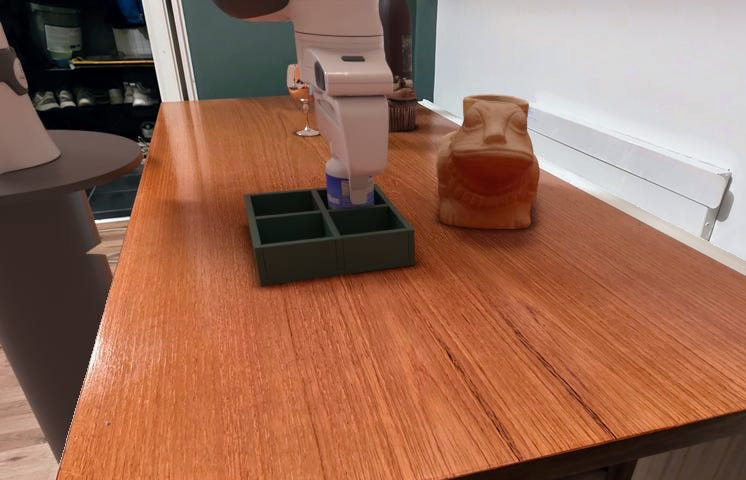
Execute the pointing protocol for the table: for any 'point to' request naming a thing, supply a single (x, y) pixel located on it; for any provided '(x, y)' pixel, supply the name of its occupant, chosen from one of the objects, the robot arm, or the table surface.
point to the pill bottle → (342, 185)
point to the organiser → (324, 236)
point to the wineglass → (300, 95)
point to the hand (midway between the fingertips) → (350, 191)
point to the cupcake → (402, 105)
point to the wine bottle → (397, 36)
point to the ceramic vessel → (488, 166)
